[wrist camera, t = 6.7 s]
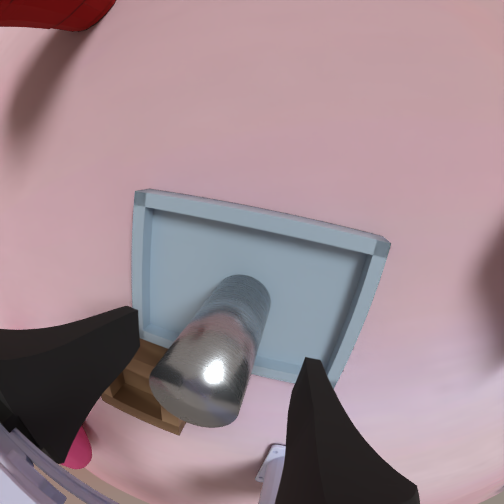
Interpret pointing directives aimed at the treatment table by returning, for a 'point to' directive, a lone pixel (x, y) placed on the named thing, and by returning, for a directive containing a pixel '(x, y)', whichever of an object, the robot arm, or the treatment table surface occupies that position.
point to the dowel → (214, 355)
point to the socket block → (142, 390)
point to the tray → (255, 275)
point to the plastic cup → (53, 13)
